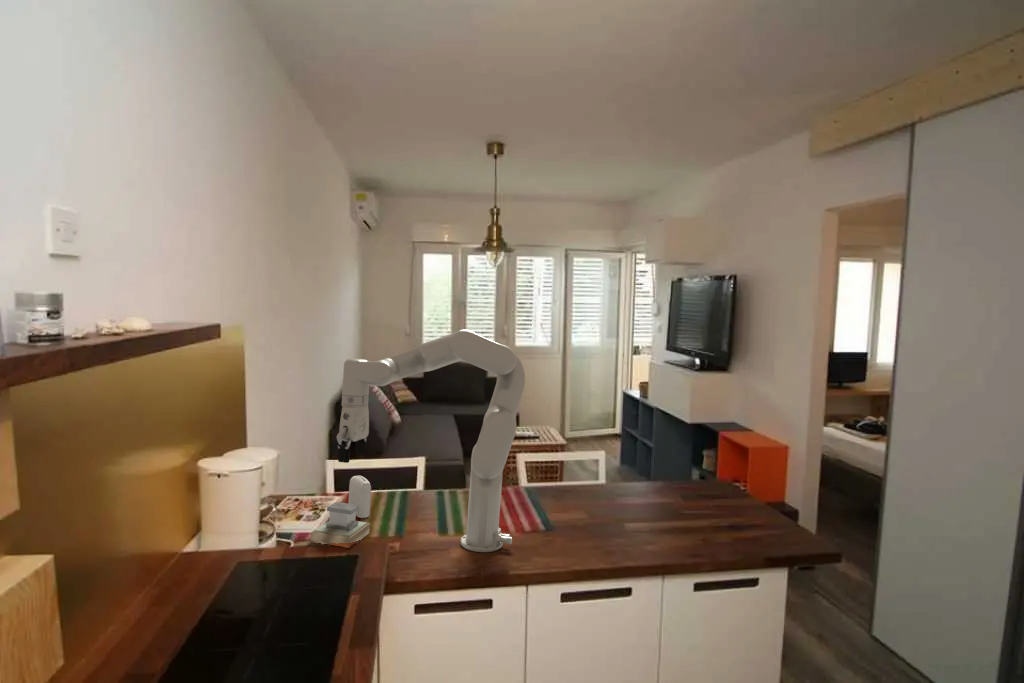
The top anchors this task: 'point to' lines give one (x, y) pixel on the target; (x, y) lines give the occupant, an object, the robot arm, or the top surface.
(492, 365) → the robot arm
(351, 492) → the photo printer
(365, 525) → the pale green flat tray
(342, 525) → the steel housing
